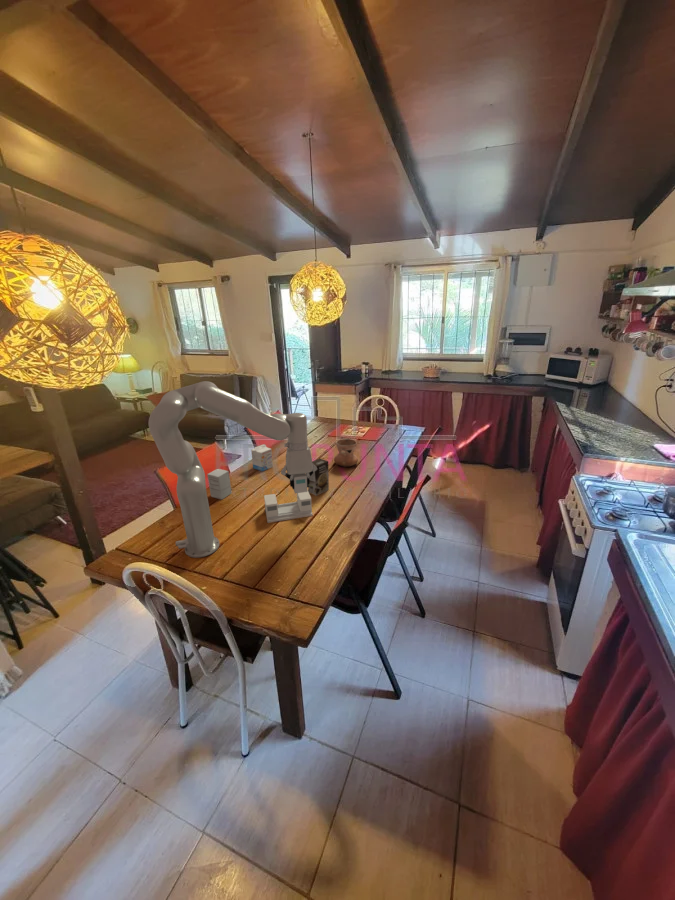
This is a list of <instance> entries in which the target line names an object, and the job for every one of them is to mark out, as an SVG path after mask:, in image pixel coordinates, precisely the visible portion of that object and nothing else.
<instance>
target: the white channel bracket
mask: <svg viewBox="0 0 675 900" xmlns="http://www.w3.org/2000/svg"><path fill="white" fill-rule="evenodd" d="M310 494H311V493H310V492H308V489H307V492H302V493H296V498H297V499H296V501H294V502H285V503H280V504H278V501H277V496H276V493H270V494H265V495H263V498H264V499H263V501H264V511H265V515H266V521H267V523H268V524H269V523H275V522H281V521H289V520H294V519H295V520H296V519H299V518H305V517H312V516H313V511H312V510H313V508H312V506H313V505H312V496H311V495H310Z"/></svg>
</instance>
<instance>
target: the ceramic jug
mask: <svg viewBox="0 0 675 900" xmlns="http://www.w3.org/2000/svg"><path fill="white" fill-rule="evenodd" d="M335 444H336V449H337V451H338V453H337V454H336V455H334V457H333V461H334V463H335V464H336V465H338V466H340V467H353V466H355V465H357V463H358V462H359V458H358V456H357V455H356V454H354V452H355V450H356V448H357V444H358V442H357V441H356V440H355V439H351V438H341V439H338V440H336V441H335Z"/></svg>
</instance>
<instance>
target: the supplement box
mask: <svg viewBox="0 0 675 900" xmlns="http://www.w3.org/2000/svg"><path fill="white" fill-rule="evenodd" d="M206 474H207V479H208V480H207V481H208V486H209V487H208V488H209V492H210V497H212V498H215V499H218V500H224V499H225V498H227V497H228V496H230V495H231V494H232V486H231V478H230V472H229V470H226V469H221V468H217V469H214V470H213V471H210V472H209V473H206Z"/></svg>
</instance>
